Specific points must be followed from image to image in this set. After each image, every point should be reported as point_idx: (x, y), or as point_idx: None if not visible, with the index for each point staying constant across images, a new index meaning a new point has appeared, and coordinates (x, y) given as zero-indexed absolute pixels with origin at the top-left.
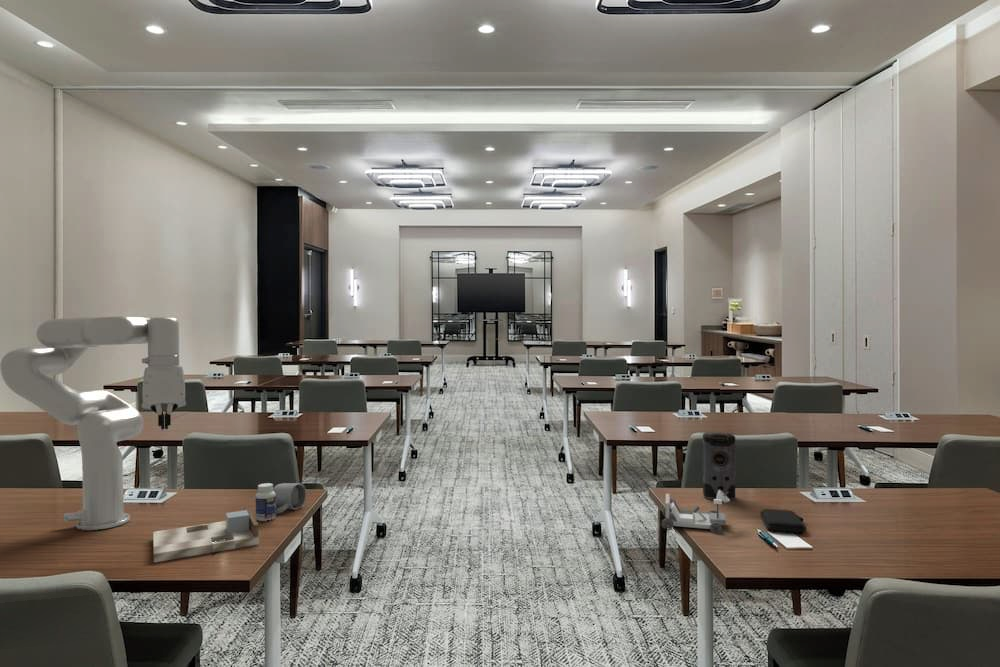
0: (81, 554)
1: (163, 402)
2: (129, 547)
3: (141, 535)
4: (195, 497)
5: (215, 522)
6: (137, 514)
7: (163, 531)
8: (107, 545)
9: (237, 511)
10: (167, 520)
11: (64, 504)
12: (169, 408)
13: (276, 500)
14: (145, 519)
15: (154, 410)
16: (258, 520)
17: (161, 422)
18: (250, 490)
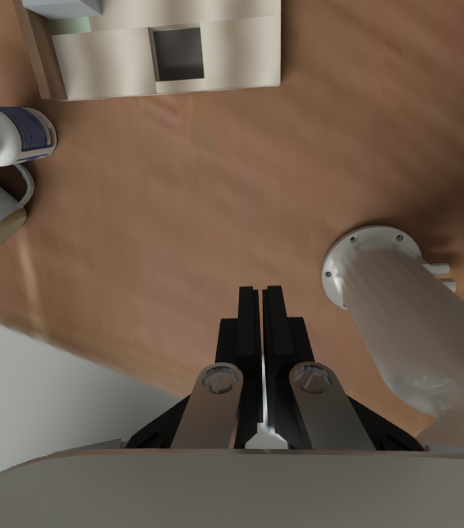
0: (434, 40)
1: (290, 458)
2: (331, 42)
3: (302, 137)
4: (202, 362)
5: (136, 93)
6: (305, 301)
7: (256, 72)
8: (375, 90)
9: (48, 1)
10: (249, 230)
11: (416, 415)
12: (214, 413)
13: (3, 195)
14: (291, 259)
15: (367, 417)
16: (47, 119)
17: (284, 311)
18: (102, 362)
